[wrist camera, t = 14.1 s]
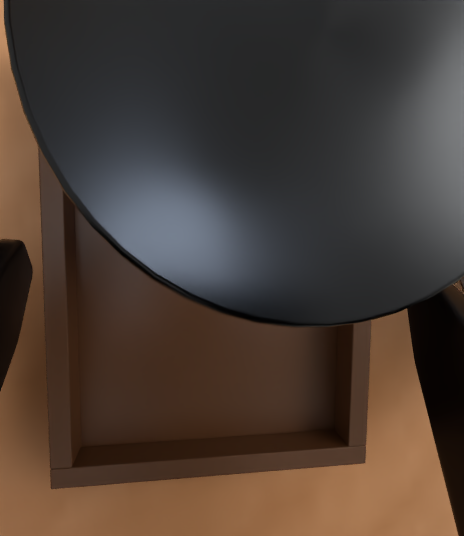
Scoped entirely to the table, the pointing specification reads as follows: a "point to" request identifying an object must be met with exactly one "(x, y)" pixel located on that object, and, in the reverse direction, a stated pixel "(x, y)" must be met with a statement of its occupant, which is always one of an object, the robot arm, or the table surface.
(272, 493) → the table surface
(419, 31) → the metal tumbler
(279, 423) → the tray
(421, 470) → the table surface
